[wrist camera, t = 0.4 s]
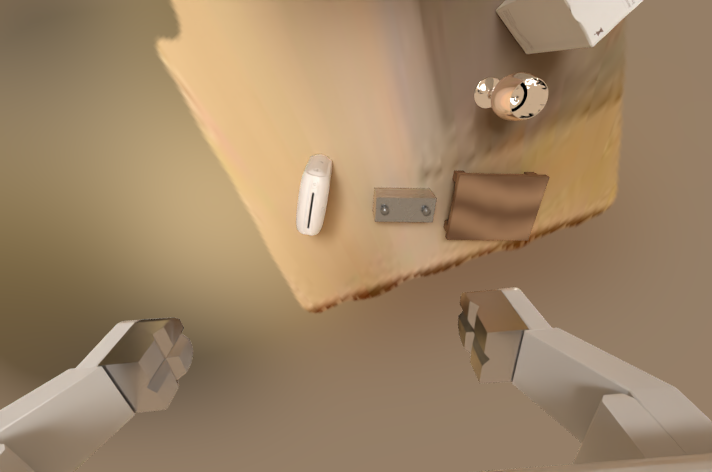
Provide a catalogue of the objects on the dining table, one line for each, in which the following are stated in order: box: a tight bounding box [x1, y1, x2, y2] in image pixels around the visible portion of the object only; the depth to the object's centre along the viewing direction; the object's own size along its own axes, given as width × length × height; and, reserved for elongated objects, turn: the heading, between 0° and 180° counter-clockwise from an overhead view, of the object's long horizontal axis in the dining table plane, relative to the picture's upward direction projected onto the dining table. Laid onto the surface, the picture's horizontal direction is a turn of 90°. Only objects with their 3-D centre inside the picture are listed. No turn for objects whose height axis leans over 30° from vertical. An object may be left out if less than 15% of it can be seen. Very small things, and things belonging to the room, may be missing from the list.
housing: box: [373, 188, 437, 222], centre depth 53 cm, size 4×10×6 cm, turn 88°
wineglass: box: [474, 72, 548, 121], centre depth 42 cm, size 6×6×12 cm
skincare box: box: [496, 0, 643, 54], centre depth 37 cm, size 8×6×15 cm
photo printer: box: [296, 154, 332, 236], centre depth 48 cm, size 10×4×12 cm, turn 168°
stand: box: [444, 171, 549, 241], centre depth 55 cm, size 12×15×4 cm
